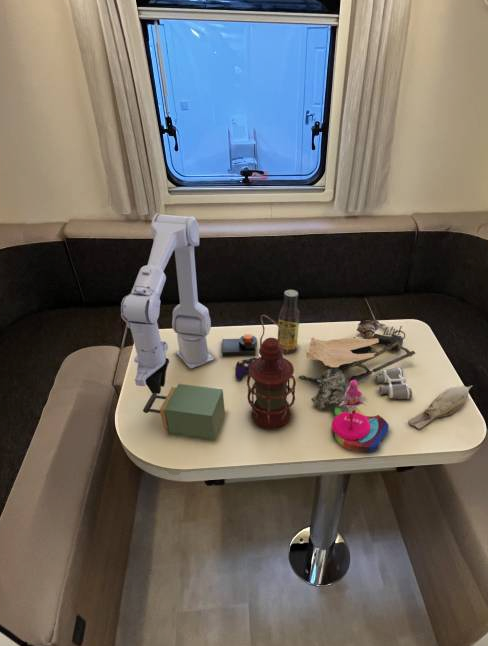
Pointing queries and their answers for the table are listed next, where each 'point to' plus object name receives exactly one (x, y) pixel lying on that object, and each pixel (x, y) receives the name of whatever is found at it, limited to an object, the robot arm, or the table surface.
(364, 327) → the oyster
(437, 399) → the sculpture
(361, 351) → the phone
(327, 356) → the tan craggy stone
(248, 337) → the button
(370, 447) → the decorative object
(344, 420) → the figurine
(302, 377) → the knife
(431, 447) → the table surface
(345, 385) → the rock
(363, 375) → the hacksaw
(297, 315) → the sauce bottle
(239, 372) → the gaming controller
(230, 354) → the button box
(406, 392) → the binoculars
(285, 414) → the lantern
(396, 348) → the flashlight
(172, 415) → the cabinet
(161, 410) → the drawer
